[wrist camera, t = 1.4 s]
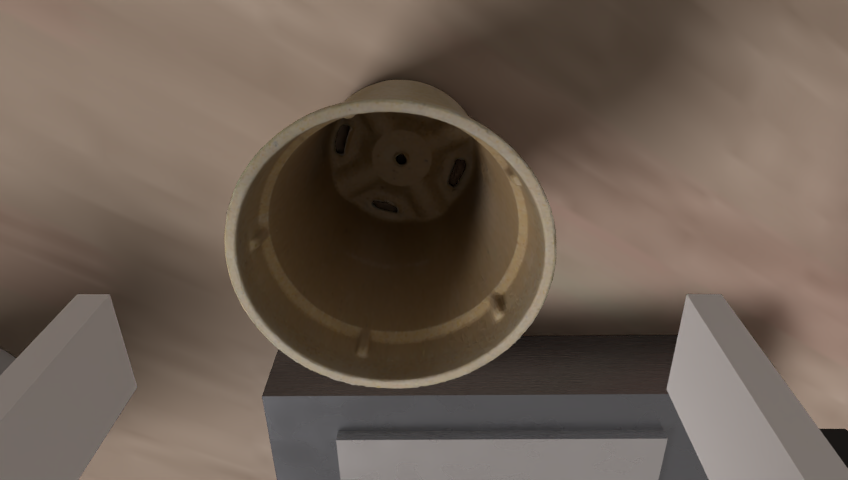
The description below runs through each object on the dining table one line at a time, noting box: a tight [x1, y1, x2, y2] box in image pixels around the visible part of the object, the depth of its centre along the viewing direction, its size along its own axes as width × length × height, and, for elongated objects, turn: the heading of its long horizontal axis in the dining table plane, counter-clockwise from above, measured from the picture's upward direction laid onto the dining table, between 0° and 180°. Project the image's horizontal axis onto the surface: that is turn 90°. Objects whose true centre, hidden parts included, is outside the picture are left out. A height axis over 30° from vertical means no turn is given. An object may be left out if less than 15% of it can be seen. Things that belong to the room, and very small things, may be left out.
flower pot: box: [224, 80, 556, 389], centre depth 22 cm, size 9×9×9 cm
